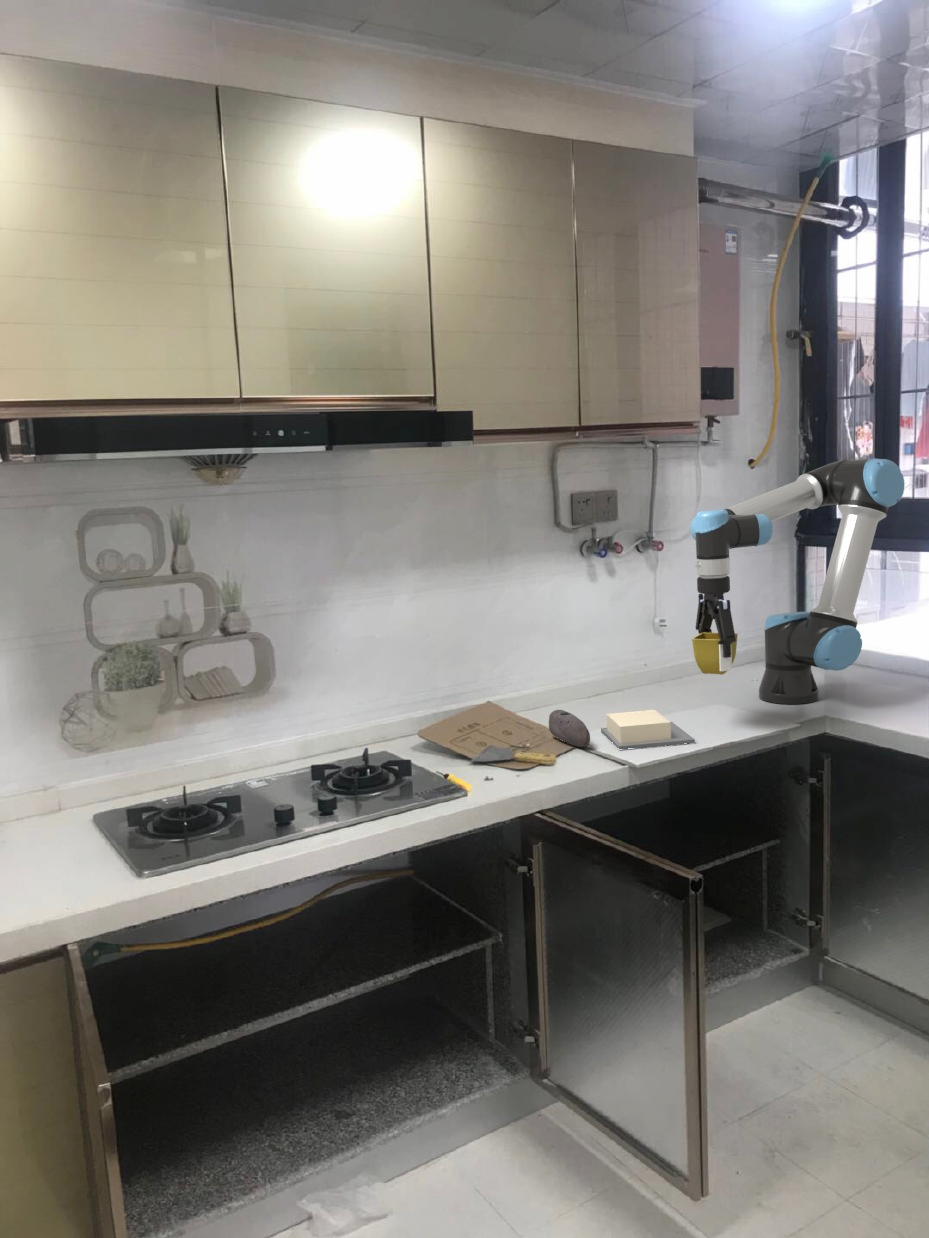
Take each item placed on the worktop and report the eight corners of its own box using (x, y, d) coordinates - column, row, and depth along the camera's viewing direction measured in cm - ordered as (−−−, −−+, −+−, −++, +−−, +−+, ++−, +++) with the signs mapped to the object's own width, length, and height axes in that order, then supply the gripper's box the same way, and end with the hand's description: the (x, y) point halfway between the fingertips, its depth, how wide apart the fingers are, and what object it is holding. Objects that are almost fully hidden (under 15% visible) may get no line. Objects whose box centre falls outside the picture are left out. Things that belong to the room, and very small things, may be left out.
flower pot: (703, 667, 235) (702, 631, 233) (739, 669, 230) (738, 632, 229) (692, 675, 227) (691, 638, 226) (728, 677, 223) (727, 640, 221)
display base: (671, 725, 236) (671, 705, 235) (694, 743, 220) (694, 722, 219) (601, 731, 234) (600, 712, 233) (619, 750, 218) (618, 729, 217)
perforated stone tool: (597, 749, 220) (596, 720, 219) (578, 753, 218) (576, 724, 217) (566, 734, 234) (564, 707, 233) (547, 737, 232) (545, 710, 231)
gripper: (680, 571, 236) (683, 657, 240) (717, 583, 213) (719, 677, 216) (709, 569, 237) (711, 654, 241) (749, 580, 214) (751, 674, 217)
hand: (715, 665), depth 229 cm, fingers closed on flower pot, 12 cm apart
